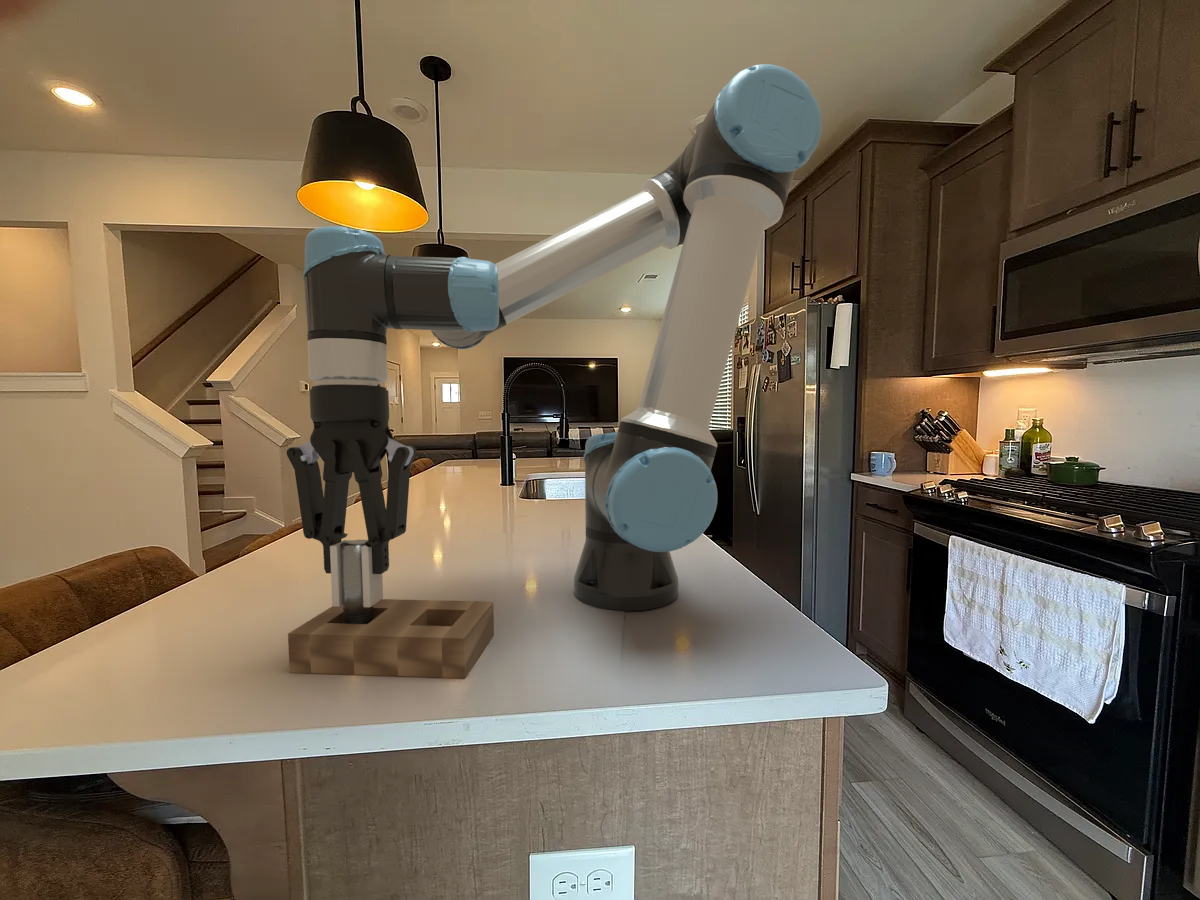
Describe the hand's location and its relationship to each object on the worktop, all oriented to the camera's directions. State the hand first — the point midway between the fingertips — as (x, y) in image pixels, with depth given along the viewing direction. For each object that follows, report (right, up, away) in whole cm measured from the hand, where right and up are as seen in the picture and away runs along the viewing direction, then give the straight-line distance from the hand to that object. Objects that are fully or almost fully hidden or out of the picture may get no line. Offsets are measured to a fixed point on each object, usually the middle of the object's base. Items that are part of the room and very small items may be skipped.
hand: (358, 601), depth 56 cm
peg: (0, -4, 0) cm, 4 cm away
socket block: (+4, -5, 0) cm, 7 cm away
